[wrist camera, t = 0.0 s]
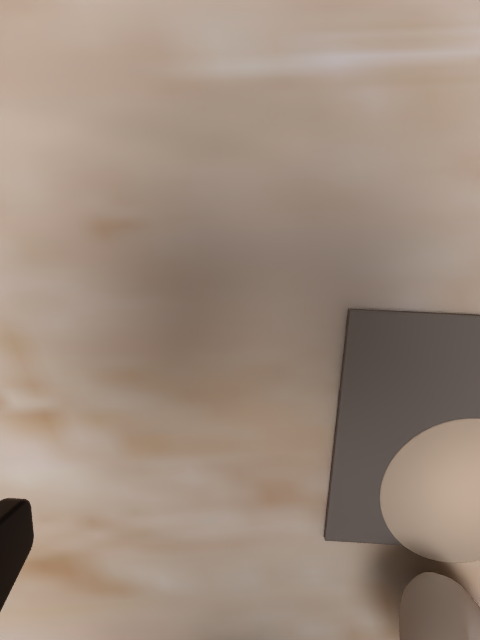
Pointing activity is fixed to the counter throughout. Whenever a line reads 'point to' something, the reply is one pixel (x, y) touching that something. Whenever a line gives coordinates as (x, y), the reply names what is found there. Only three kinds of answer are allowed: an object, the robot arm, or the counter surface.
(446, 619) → the donut
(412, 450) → the kitchen scale
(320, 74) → the counter surface
